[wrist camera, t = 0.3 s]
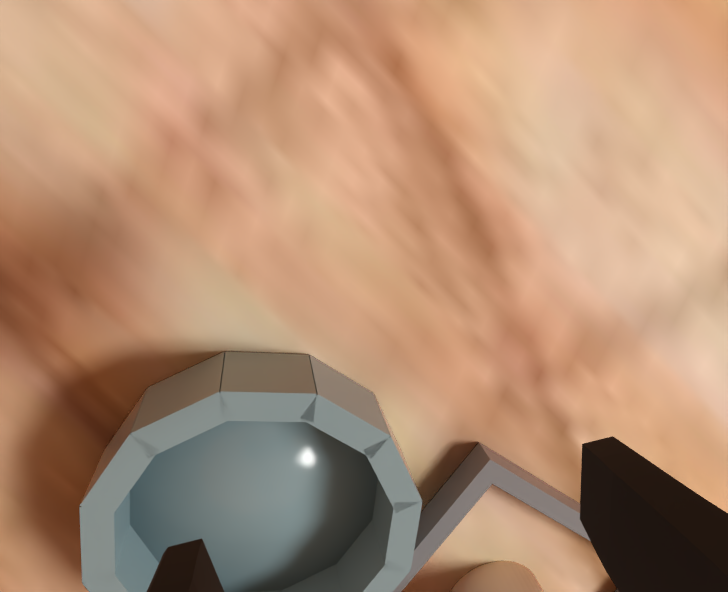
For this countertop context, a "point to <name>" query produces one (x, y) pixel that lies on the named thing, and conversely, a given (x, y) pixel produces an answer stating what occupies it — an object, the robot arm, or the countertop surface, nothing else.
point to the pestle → (498, 579)
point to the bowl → (254, 482)
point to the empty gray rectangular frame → (468, 489)
